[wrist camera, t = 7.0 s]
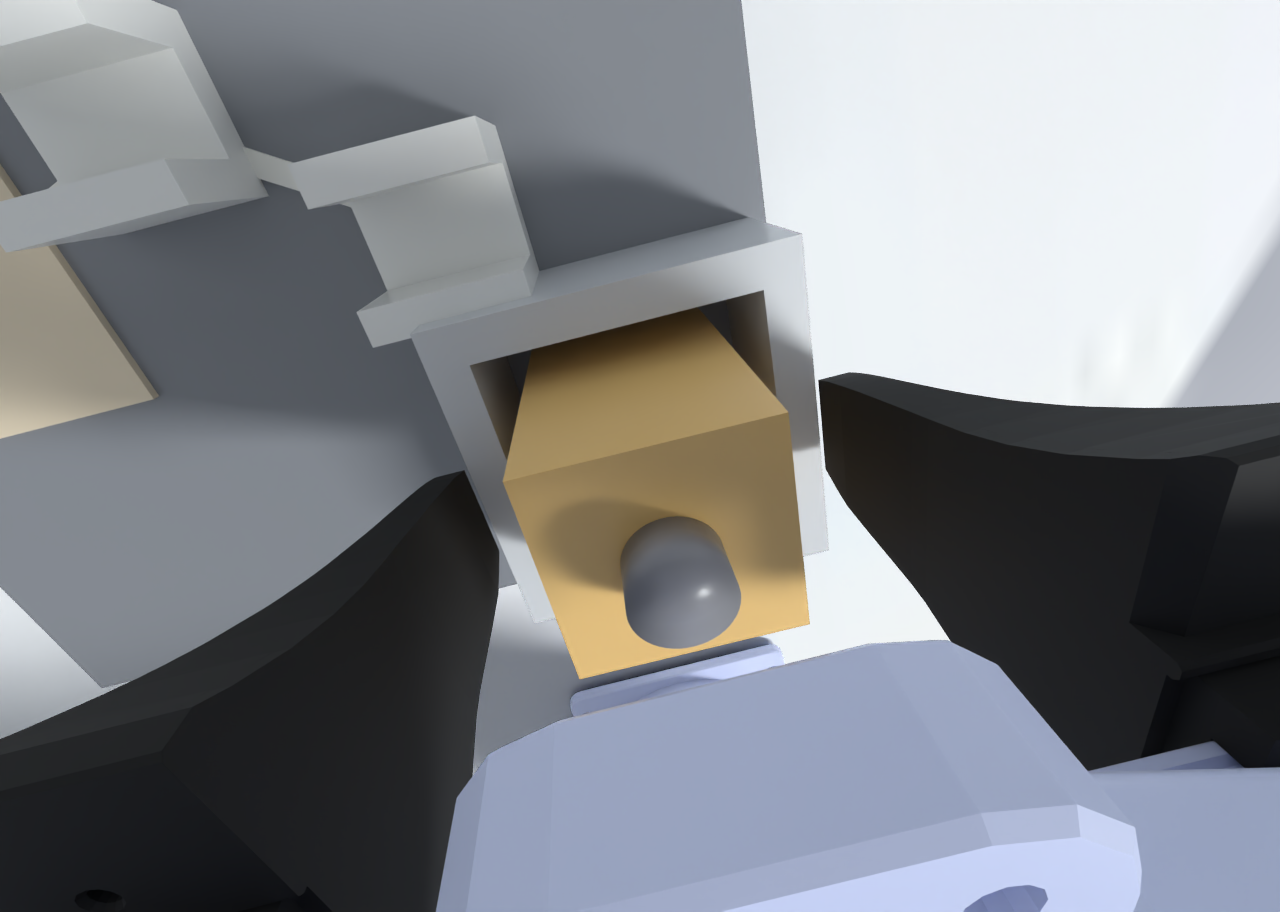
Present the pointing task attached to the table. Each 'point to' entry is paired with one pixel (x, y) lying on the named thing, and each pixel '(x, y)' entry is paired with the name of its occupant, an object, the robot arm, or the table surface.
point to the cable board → (341, 277)
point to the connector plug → (656, 493)
